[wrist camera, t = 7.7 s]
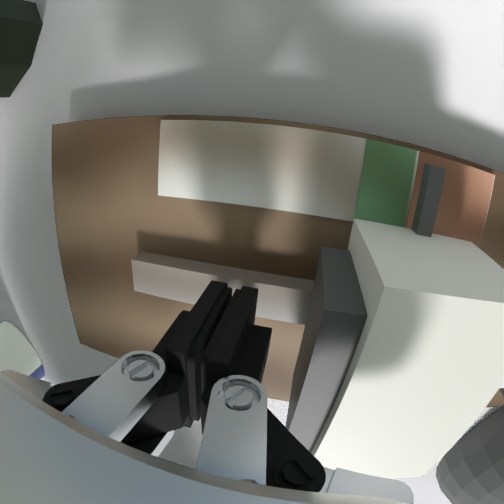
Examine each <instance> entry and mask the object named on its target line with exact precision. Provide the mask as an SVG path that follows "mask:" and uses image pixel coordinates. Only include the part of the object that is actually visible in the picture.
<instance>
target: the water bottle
mask: <svg viewBox="0 0 504 504" xmlns="http://www.w3.org/2000/svg"><path fill="white" fill-rule="evenodd" d="M3 370H13V371H16V372H19V373H22V374H25V375H28V376H31V377H34V378H37V379H41V378H42V377H43V376H44V368H43V365H42V362H41V360H40V358H39V356H38V355H37V353H36V351H35V350H34V348H33V347H32V345H31V344H30V342H29V341H28V340H27V339H26V337H25V336H24V335H23V334H22V333H21V332H20V331H19V330H18V329H17V328H16V327H15V326H14V325H13V324H11V323H9V322H7V321H3V322H2V323H0V372H1V371H3Z"/></svg>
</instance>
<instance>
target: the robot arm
mask: <svg viewBox="0 0 504 504" xmlns="http://www.w3.org/2000/svg"><path fill="white" fill-rule="evenodd" d="M257 298H258V288H252V287H247V286H242V288H241V289H236V290H235V292H234V294H233V296H232V288H230V287H228V284H227V283H225V282H219V281H214V280H212V281H211V282H210V283H209V285H208V286H207V287H206V289H205V290H204V292H203V293H202V295H201V296H200V298H199V299H198V300H197V302H196V303H195V305H194V306H193V308H192V309H191V311H186V310H183V311H181V312H180V314H179V315H178V316H177V318H176V319H175V321H174V322H173V323H172V325H171V326H170V327H169V329H168V330H167V332H166V333H165V334H164V336H163V337H162V339H161V340H160V341H159V343H158V344H157V346H156V347H155V348H154V350H153V351H152V352H150V351H142V350H139V351H132V352H130V353H127V354H125V355H124V356H122V357H121V358H120V359H119V360H118V361H116V362H115V363H114V364H113V365H112V366H111V367H110V368H109V369H108V370H107V371H106V372H105V373H103V374H102V375H99V376H95V377H90V378H85V379H81V380H76V381H71V382H66V383H61V384H58V385H55V386H53V385H52V383H50V382H47V381H43V380H40V379H37V378H34V377H31V376H28V375H25V374H22V373H19V372H16V371H13V370H3V371H1V372H0V504H413V493H412V491H411V489H410V487H409V486H408V485H406V484H405V483H404V482H401V481H398V480H393V479H387V478H382V477H377V476H372V475H367V474H362V473H358V472H353V471H349V470H345V469H341V468H336V469H335V470H333V469H329V468H326V467H323V465H322V464H321V463H320V462H319V460H318V459H317V458H316V457H315V456H313V455H312V454H311V453H310V452H309V451H308V450H307V449H306V448H305V447H304V446H303V445H302V444H301V443H300V442H299V441H298V440H297V439H296V438H295V437H294V436H293V435H292V434H291V433H290V431H289V430H288V429H287V428H286V427H285V426H284V425H283V424H282V423H281V422H280V421H279V420H278V419H277V418H276V417H275V416H274V415H273V414H272V413H271V411H270V410H269V409H268V408H267V393H266V390H265V388H264V387H263V385H262V384H261V382H262V378H263V374H264V370H265V366H266V361H267V356H268V351H269V346H270V340H271V334H272V328H270V327H264V326H259V325H254V323H255V315H256V307H257ZM200 417H201V424H202V434H203V437H202V442H201V447H200V453H199V458H198V463H197V469H192V468H189V467H186V466H182V465H179V464H176V463H173V462H170V461H167V460H164V459H161V458H159V457H158V456H159V455H160V453H161V452H162V451H163V449H164V448H165V447H166V445H167V444H168V442H169V441H170V440H171V438H172V436H173V434H174V430H176V429H179V428H182V427H183V426H186V427H189V428H190V427H191V425H192V423H193V420H197V421H199V419H200Z"/></svg>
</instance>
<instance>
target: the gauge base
mask: <svg viewBox="0 0 504 504" xmlns="http://www.w3.org/2000/svg"><path fill="white" fill-rule="evenodd" d="M424 163H426V164H430V165H434V166H437V167H441V168H444V169H446V170H445V176H444V181H443V187H442V192H441V197H440V202H439V206H438V211H437V215H436V220H435V224H434V228H433V232H432V233H433V234H438V235H442V236H447V237H451V238H456V239H460V240H465V241H469V242H472V243H473V244H475V245H476V246H477V247H478V248H480V249H481V250H482V251H483V252H484V253H486V254H487V255H488V256H489V257H490V258H491V259H493V260H494V261H495V262H496V263H497V264H498V265H500V266H501V267H502V268H503V269H504V174H503V173H500V172H498V171H495V170H493V169H490V168H487V167H484V166H482V165H479V164H476V163H473V162H470V161H467V160H464V159H461V158H458V157H455V156H452V155H449V154H445V153H442V152H439V151H435V150H432V149H428V148H425V147H421V146H417V145H413V144H409V143H405V142H401V141H397V140H393V139H389V138H384V137H380V136H375V135H370V134H365V133H360V132H355V131H350V130H344V129H338V128H332V127H326V126H319V125H312V124H305V123H297V122H289V121H279V120H269V119H258V118H244V117H227V116H198V115H165V116H136V117H119V118H106V119H95V120H86V121H77V122H69V123H62V124H55V125H52V180H53V197H54V209H55V219H56V228H57V236H58V243H59V250H60V257H61V263H62V268H63V274H64V279H65V284H66V289H67V294H68V298H69V302H70V307H71V311H72V315H73V319H74V323H75V326H76V330H77V334H78V337H79V341H80V343H81V344H83V345H86V346H88V347H91V348H93V349H96V350H98V351H101V352H103V353H106V354H109V355H111V356H114V357H117V358H121V357H122V356H124V355H125V354H127V353H130V352H132V351H139V350H142V351H150V352H152V351H153V350H154V348H155V347H156V346H157V344H158V343H159V341H160V340H161V339H162V337H163V336H164V334H165V333H166V332H167V330H168V329H169V327H170V326H171V325H172V323H173V322H174V321H175V319H176V318H177V316H178V315H179V314H180V312H181V311H183V310H186V311H191V309H192V308H193V306H194V305H195V303H196V302H197V300H198V299H199V298H200V296H201V295H202V293H203V292H204V290H205V289H206V287H207V286H208V285H209V283H210V282H211V281H212V280H214V281H219V282H225V283H227V284H228V287H230V288H232V296H233V294H234V292H235V290H236V289H241V288H242V286H247V287H252V288H258V298H257V307H256V315H255V323H254V325H259V326H264V327H270V328H272V334H271V340H270V346H269V351H268V356H267V361H266V366H265V370H264V374H263V378H262V382H261V384H262V385H263V387H264V388H265V390H266V393H267V398H271V399H277V400H283V401H290V394H291V387H292V380H293V373H294V369H295V365H296V361H297V357H298V353H299V349H300V345H301V341H302V336H303V332H304V328H305V323H306V319H307V314H308V310H309V305H310V301H311V296H312V291H313V286H314V281H315V276H316V271H317V266H318V261H319V255H320V250H321V246H325V247H331V248H337V249H344V250H348V245H349V240H350V235H351V230H352V225H353V220H354V218H355V219H360V220H366V221H372V222H377V223H382V224H388V225H393V226H398V227H403V228H408V229H411V228H412V224H413V219H414V215H415V210H416V206H417V201H418V196H419V191H420V185H421V180H422V174H423V168H424ZM503 405H504V388H499V389H498V391H497V392H496V394H495V395H494V396H493V398H492V399H491V401H490V402H489V403H488V405H487V406H486V407H495V406H503ZM486 407H485V408H486Z"/></svg>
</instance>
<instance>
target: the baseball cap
mask: <svg viewBox="0 0 504 504" xmlns="http://www.w3.org/2000/svg"><path fill="white" fill-rule="evenodd" d="M436 477H437V480H438V483H439V486H440V489H441V491H442V492H443V493H444V494H445V495H446V497H447V498H448V499H449V500H450V502H451V503H452V504H504V405H503V406H501V407H500V408H498V409H497V410H496V411H495V412H493V413H492V414H491V415H490V416H488V417H487V418H486V419H484V420H483V421H482V422H480V423H479V424H478V425H476V426H475V427H474V428H473V429H472V430H471V431H469V432H468V433H467V434H466V435H465V436H464V437H463V438H461V439H460V440H459V441H458V442H457V443H456V444H455V445H454V446H453V447H452V448H451V449H450V450H449V451H448V452H447V453H446V454H445V455H444V457H443V458H442V460H441V461H440V463H439V465H438V466H437V470H436Z"/></svg>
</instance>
